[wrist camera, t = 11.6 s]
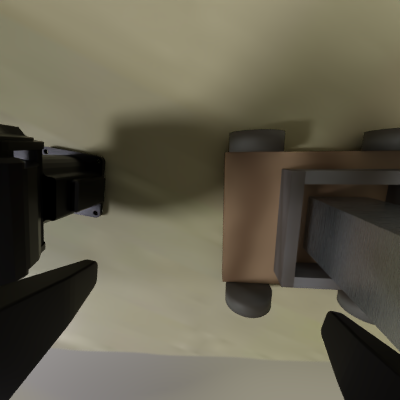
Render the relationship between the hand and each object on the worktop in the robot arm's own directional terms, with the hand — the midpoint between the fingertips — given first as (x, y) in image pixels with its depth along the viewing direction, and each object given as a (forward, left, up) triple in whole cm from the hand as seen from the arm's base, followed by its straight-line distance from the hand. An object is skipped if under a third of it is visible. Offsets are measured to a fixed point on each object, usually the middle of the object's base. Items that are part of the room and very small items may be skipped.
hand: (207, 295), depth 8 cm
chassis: (+9, +1, -13) cm, 16 cm away
